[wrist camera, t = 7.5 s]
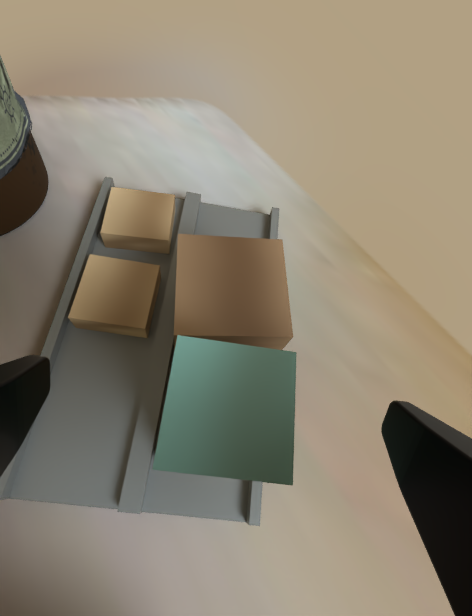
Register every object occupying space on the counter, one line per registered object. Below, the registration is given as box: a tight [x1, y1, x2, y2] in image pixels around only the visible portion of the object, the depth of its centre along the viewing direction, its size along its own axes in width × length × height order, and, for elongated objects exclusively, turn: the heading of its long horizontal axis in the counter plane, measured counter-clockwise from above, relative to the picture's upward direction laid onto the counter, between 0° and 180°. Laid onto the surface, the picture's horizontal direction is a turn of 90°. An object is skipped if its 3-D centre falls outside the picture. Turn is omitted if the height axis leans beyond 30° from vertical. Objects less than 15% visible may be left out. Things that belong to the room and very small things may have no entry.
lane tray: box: [0, 177, 279, 526], centre depth 20 cm, size 12×19×2 cm, turn 174°
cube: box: [174, 234, 293, 350], centre depth 17 cm, size 5×5×5 cm
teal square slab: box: [152, 335, 296, 485], centre depth 15 cm, size 4×10×10 cm, turn 174°
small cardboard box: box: [100, 187, 175, 254], centre depth 22 cm, size 4×4×2 cm
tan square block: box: [68, 254, 161, 338], centre depth 20 cm, size 4×4×2 cm
